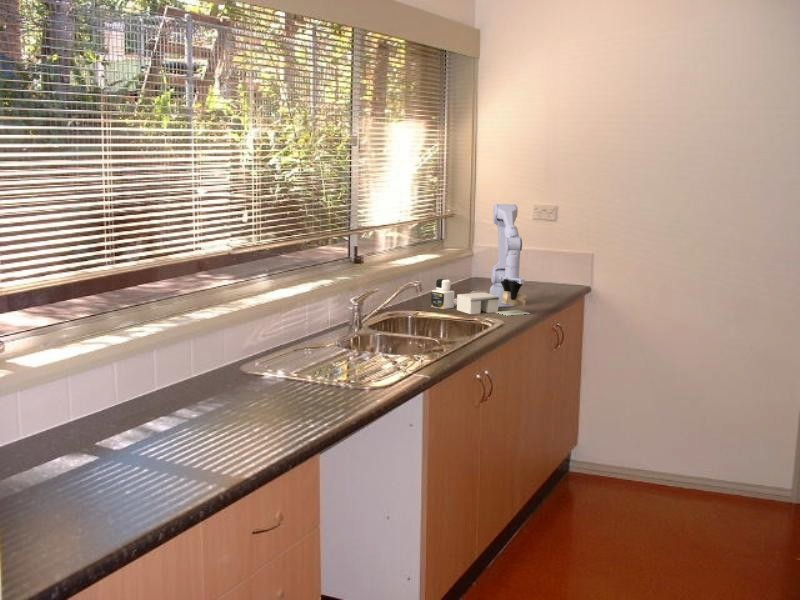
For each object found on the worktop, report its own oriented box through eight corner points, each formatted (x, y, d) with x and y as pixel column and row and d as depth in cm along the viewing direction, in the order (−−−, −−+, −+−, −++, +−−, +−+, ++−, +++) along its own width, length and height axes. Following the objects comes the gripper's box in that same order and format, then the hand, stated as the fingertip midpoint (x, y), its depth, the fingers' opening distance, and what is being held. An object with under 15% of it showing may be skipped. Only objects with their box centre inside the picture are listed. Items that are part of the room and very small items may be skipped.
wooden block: (519, 305, 398) (522, 293, 398) (524, 306, 395) (526, 295, 395) (501, 302, 393) (503, 290, 393) (505, 303, 390) (508, 292, 390)
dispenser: (456, 310, 398) (457, 294, 397) (483, 308, 406) (484, 292, 404) (470, 314, 390) (471, 298, 389) (498, 312, 397) (499, 296, 396)
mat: (495, 312, 395) (495, 311, 395) (518, 310, 401) (518, 309, 401) (507, 316, 389) (507, 315, 388) (530, 314, 395) (530, 313, 395)
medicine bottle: (430, 306, 404) (431, 279, 402) (441, 305, 409) (442, 277, 407) (443, 309, 399) (444, 281, 397) (454, 307, 404) (455, 279, 402)
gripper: (494, 264, 395) (492, 296, 397) (515, 268, 383) (513, 302, 385) (507, 263, 399) (506, 295, 401) (529, 268, 386) (527, 301, 389)
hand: (510, 298), depth 393 cm, fingers closed on wooden block, 3 cm apart
